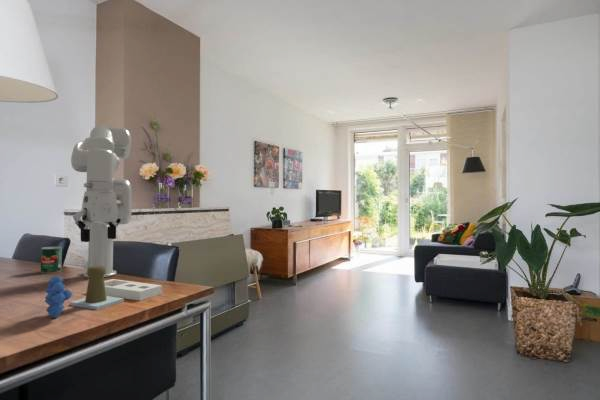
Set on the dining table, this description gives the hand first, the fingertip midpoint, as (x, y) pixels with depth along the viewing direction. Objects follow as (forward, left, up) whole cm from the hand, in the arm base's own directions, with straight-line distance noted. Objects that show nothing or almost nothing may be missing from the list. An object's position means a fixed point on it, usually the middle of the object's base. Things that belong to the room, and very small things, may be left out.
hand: (98, 240), depth 118 cm
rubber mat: (0, -1, -20) cm, 20 cm away
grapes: (+2, -15, -21) cm, 25 cm away
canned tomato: (-62, +26, -21) cm, 70 cm away
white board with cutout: (-2, +12, -20) cm, 24 cm away
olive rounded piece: (0, -1, -20) cm, 20 cm away
